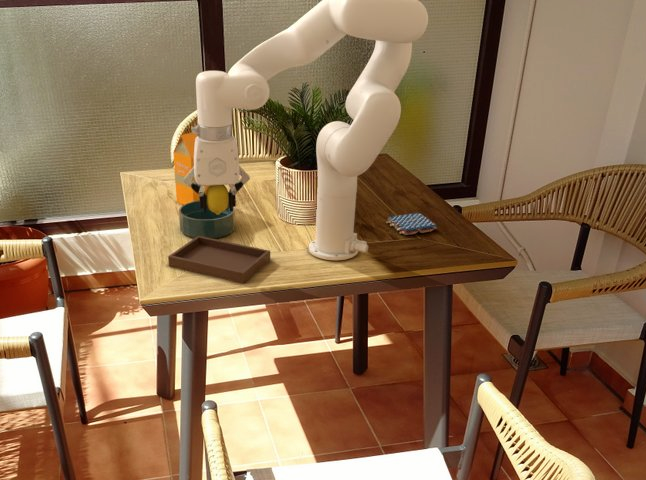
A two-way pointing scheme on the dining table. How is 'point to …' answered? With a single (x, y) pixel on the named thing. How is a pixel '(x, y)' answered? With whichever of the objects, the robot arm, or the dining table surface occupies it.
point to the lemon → (217, 198)
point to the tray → (219, 259)
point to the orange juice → (185, 168)
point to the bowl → (205, 221)
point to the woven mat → (411, 223)
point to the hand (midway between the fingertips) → (217, 209)
